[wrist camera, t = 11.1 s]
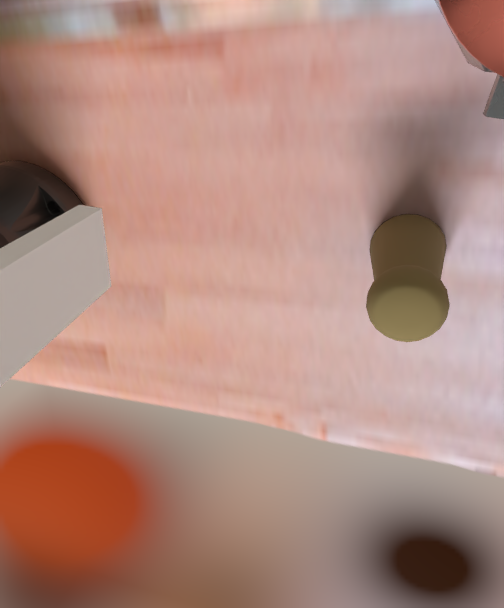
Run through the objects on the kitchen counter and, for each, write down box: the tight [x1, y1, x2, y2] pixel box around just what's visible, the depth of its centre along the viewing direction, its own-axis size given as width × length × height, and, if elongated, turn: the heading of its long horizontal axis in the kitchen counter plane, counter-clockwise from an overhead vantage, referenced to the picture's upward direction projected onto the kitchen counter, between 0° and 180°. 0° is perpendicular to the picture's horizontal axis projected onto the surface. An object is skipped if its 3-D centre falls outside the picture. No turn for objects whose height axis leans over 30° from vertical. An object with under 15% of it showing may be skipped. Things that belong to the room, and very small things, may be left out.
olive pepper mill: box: [366, 214, 449, 342], centre depth 33 cm, size 6×6×11 cm
